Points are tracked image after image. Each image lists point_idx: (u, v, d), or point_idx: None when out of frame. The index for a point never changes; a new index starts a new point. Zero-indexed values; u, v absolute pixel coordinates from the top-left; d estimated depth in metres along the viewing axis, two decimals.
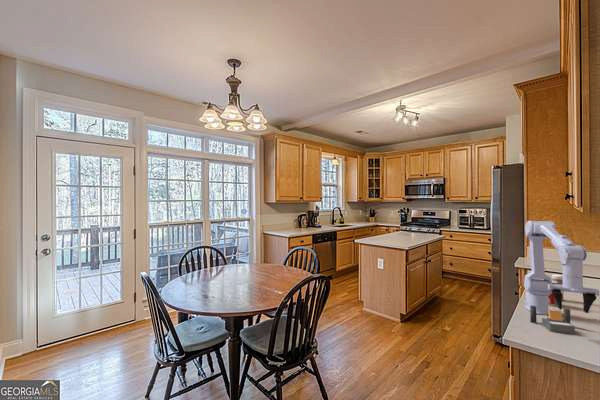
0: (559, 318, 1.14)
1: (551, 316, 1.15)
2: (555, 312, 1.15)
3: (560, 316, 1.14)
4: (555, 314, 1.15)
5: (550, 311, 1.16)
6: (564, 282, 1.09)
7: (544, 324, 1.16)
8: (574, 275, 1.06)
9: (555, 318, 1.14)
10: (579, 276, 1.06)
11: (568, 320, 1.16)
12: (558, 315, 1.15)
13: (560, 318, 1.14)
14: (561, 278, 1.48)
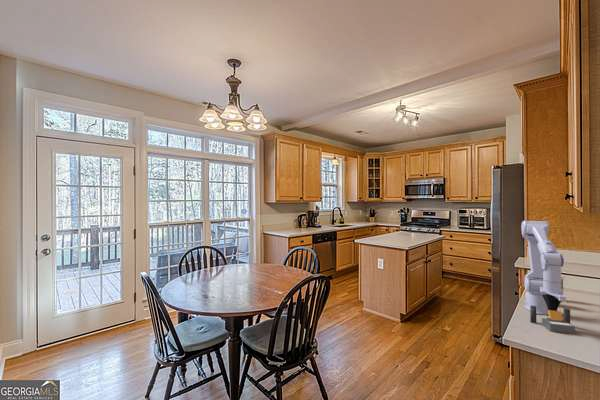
0: (559, 318, 1.14)
1: (551, 316, 1.15)
2: (555, 312, 1.15)
3: (560, 316, 1.14)
4: (555, 314, 1.15)
5: (550, 311, 1.16)
6: None
7: (544, 324, 1.16)
8: (552, 280, 1.15)
9: (555, 318, 1.14)
10: (556, 281, 1.15)
11: (568, 320, 1.16)
12: (558, 315, 1.15)
13: (560, 318, 1.14)
14: (561, 278, 1.48)
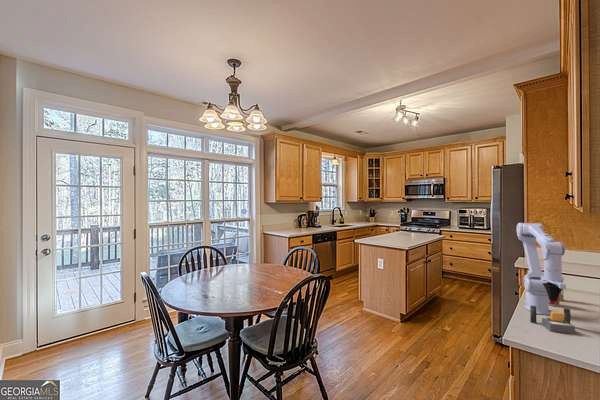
0: (560, 319, 1.13)
1: (552, 318, 1.14)
2: (558, 315, 1.13)
3: (562, 318, 1.13)
4: (557, 316, 1.13)
5: (553, 313, 1.14)
6: None
7: (544, 324, 1.16)
8: (553, 268, 1.18)
9: (556, 319, 1.14)
10: (558, 269, 1.17)
11: (568, 320, 1.16)
12: (560, 317, 1.13)
13: (561, 319, 1.13)
14: None
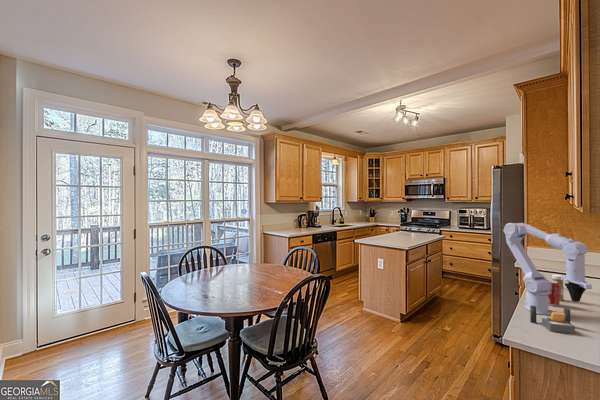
0: (560, 320, 1.13)
1: (553, 318, 1.14)
2: (559, 315, 1.13)
3: (562, 319, 1.13)
4: (557, 317, 1.13)
5: (554, 314, 1.13)
6: None
7: (544, 324, 1.16)
8: (582, 269, 1.17)
9: (556, 320, 1.14)
10: (584, 269, 1.17)
11: (568, 320, 1.16)
12: (560, 318, 1.13)
13: (561, 320, 1.13)
14: None
